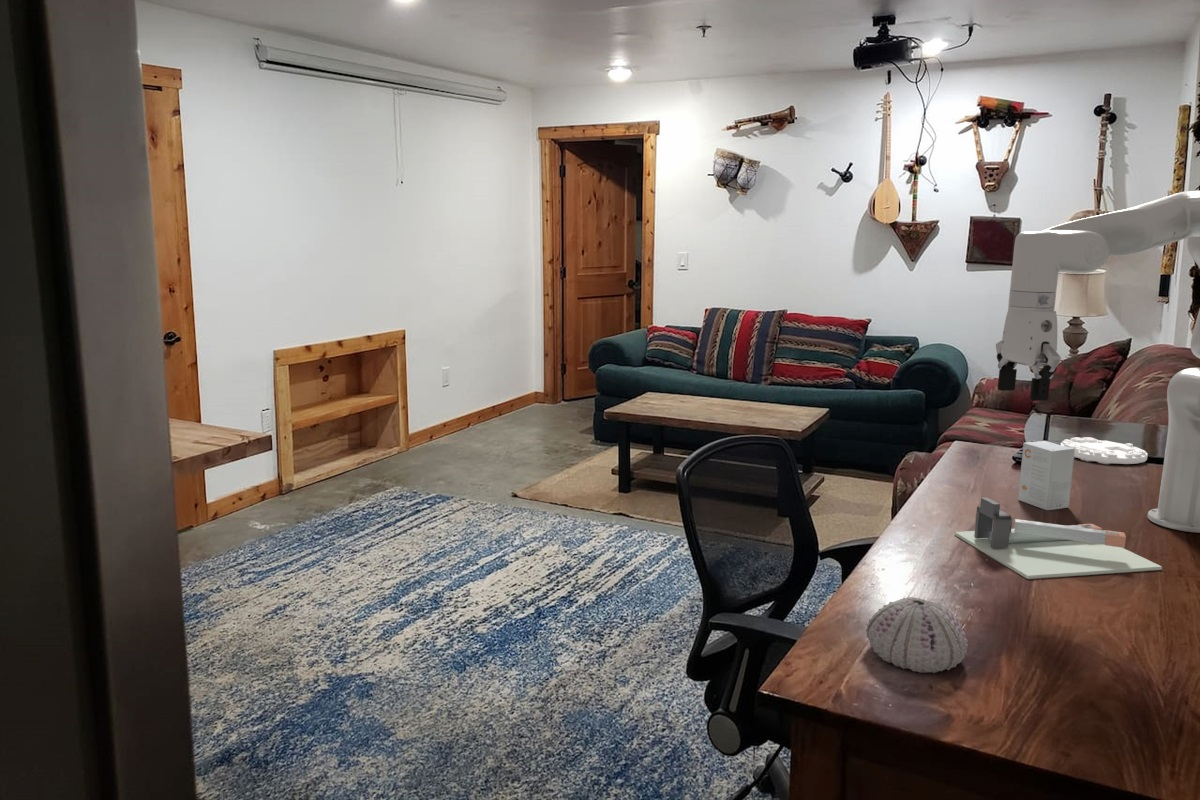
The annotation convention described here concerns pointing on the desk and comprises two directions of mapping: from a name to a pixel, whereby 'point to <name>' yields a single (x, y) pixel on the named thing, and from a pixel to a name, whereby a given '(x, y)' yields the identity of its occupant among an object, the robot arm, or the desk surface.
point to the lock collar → (992, 515)
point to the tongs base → (1023, 537)
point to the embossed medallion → (1105, 451)
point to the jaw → (1071, 533)
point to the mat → (1061, 557)
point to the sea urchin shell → (917, 635)
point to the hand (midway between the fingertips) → (1021, 395)
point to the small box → (1046, 475)
